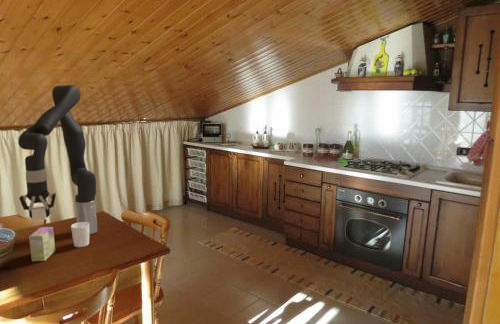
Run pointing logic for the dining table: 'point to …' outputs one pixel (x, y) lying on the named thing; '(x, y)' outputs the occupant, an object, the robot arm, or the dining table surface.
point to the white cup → (80, 234)
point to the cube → (38, 213)
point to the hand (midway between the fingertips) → (40, 217)
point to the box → (42, 243)
